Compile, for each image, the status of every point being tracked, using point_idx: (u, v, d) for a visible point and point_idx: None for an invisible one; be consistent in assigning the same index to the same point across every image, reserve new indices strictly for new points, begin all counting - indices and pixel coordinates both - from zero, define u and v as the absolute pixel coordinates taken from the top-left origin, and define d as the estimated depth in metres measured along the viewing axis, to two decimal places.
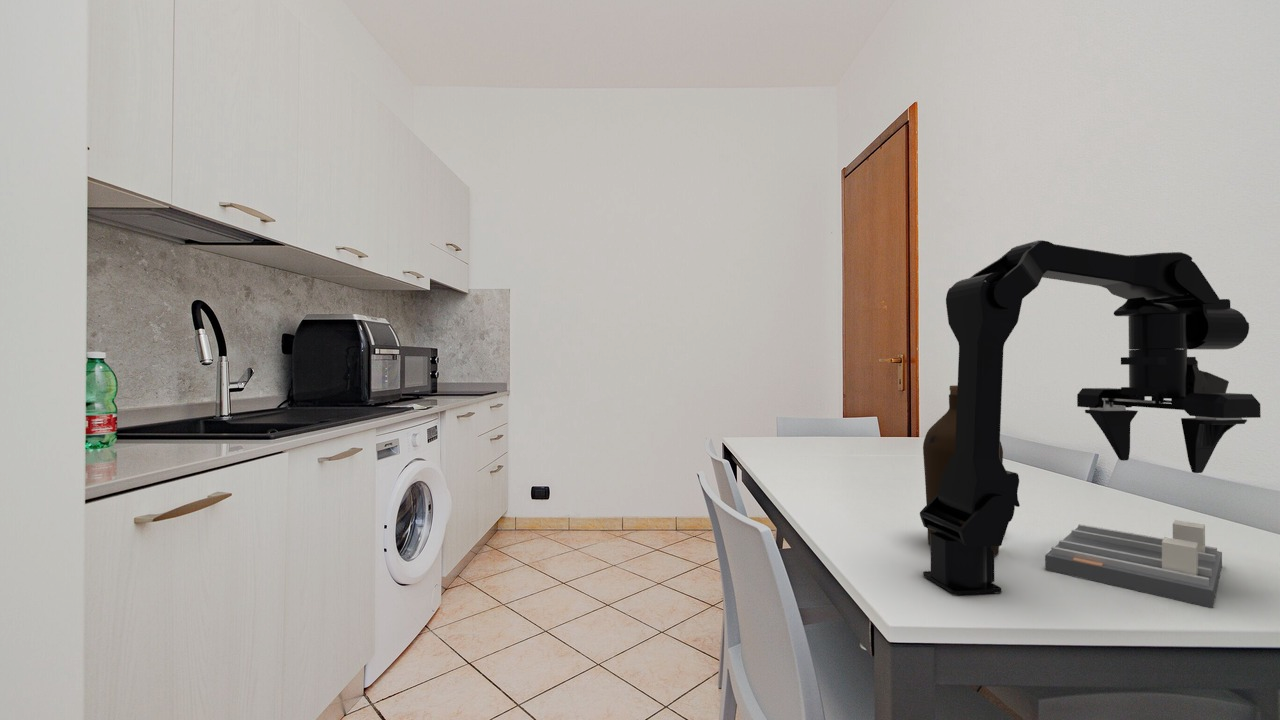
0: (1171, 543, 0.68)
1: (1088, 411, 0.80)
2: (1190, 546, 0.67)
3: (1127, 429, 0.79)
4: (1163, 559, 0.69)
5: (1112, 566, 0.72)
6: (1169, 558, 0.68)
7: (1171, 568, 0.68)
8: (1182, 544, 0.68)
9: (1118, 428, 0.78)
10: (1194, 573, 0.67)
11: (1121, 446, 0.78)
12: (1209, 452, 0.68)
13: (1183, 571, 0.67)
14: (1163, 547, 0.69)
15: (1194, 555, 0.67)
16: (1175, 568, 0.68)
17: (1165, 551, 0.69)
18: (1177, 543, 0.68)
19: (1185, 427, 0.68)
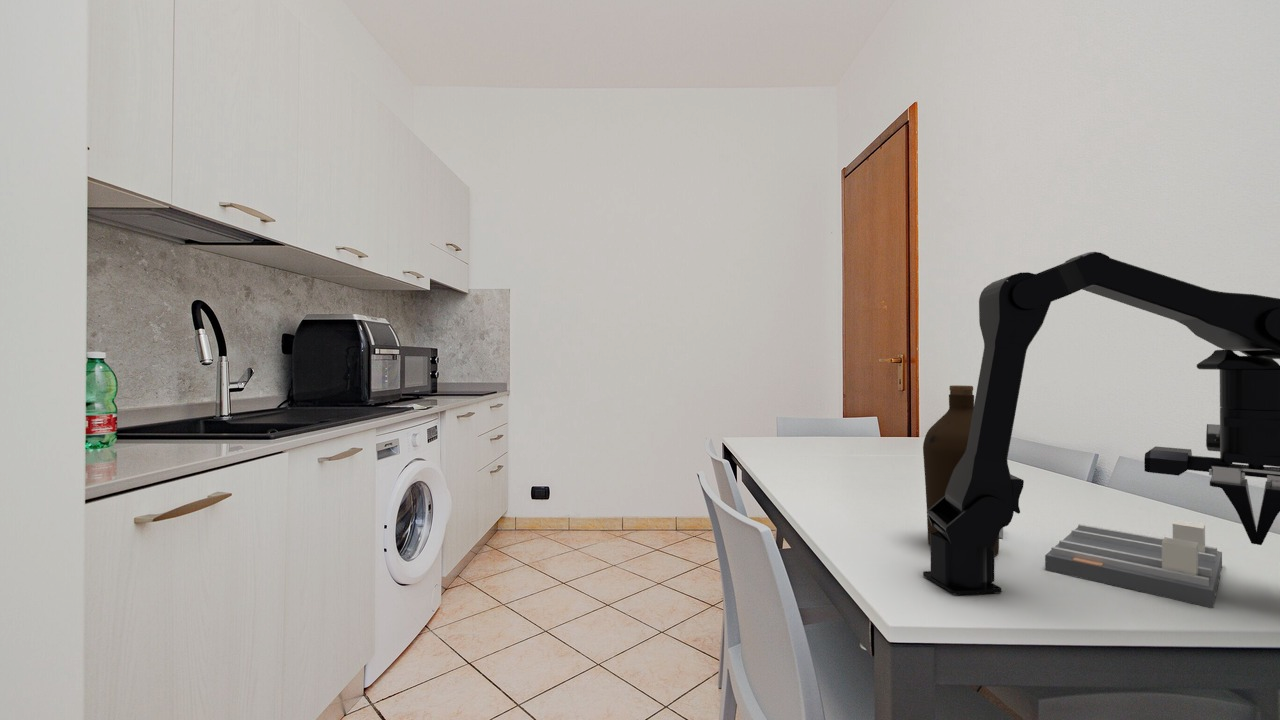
0: (1171, 543, 0.68)
1: (1220, 485, 0.64)
2: (1190, 546, 0.67)
3: (1251, 504, 0.65)
4: (1163, 559, 0.69)
5: (1112, 566, 0.72)
6: (1169, 558, 0.68)
7: (1171, 568, 0.68)
8: (1182, 544, 0.68)
9: (1250, 505, 0.64)
10: (1194, 573, 0.67)
11: (1255, 527, 0.64)
12: None
13: (1183, 571, 0.67)
14: (1163, 547, 0.69)
15: (1194, 555, 0.67)
16: (1175, 568, 0.68)
17: (1165, 551, 0.69)
18: (1177, 543, 0.68)
19: (1269, 498, 0.61)
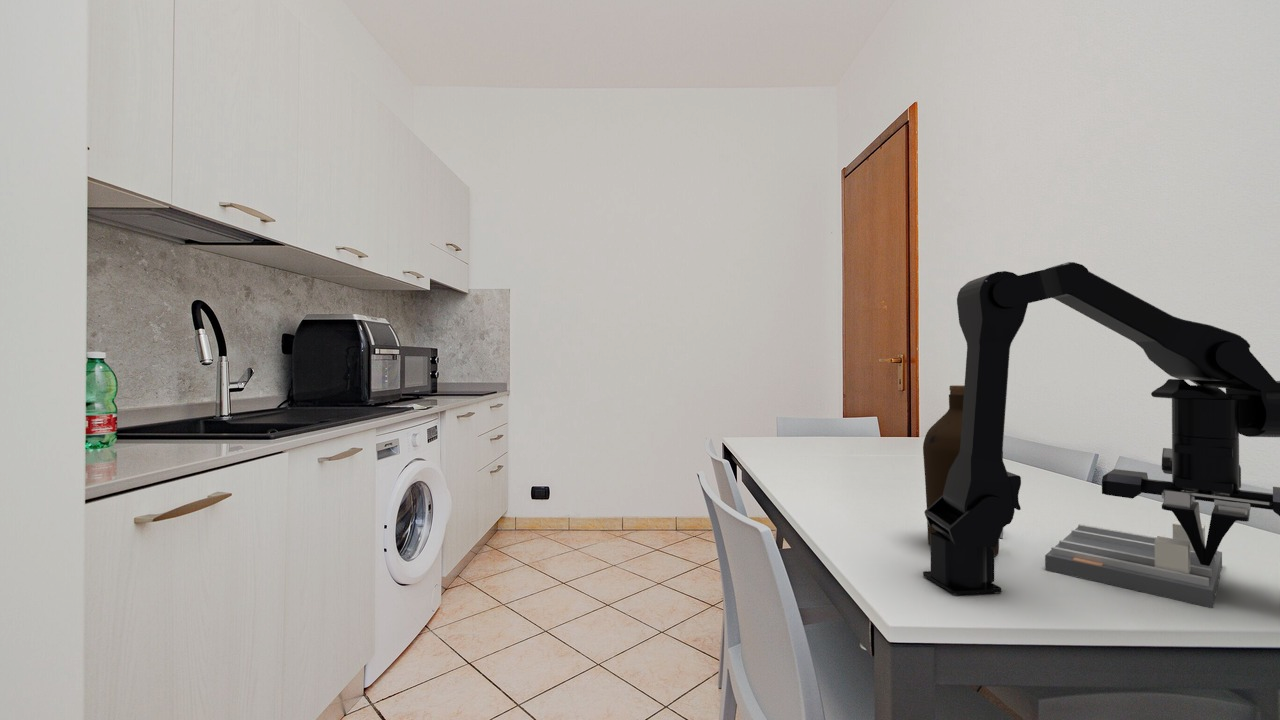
0: (1164, 542, 0.69)
1: (1171, 508, 0.67)
2: (1182, 545, 0.68)
3: (1201, 526, 0.68)
4: (1156, 558, 0.69)
5: (1112, 566, 0.72)
6: (1162, 557, 0.69)
7: (1164, 567, 0.69)
8: (1175, 543, 0.69)
9: (1200, 527, 0.67)
10: (1186, 571, 0.67)
11: (1204, 549, 0.67)
12: None
13: (1175, 569, 0.68)
14: (1156, 546, 0.69)
15: (1186, 554, 0.67)
16: (1168, 567, 0.68)
17: (1158, 550, 0.69)
18: (1170, 542, 0.69)
19: (1215, 522, 0.65)
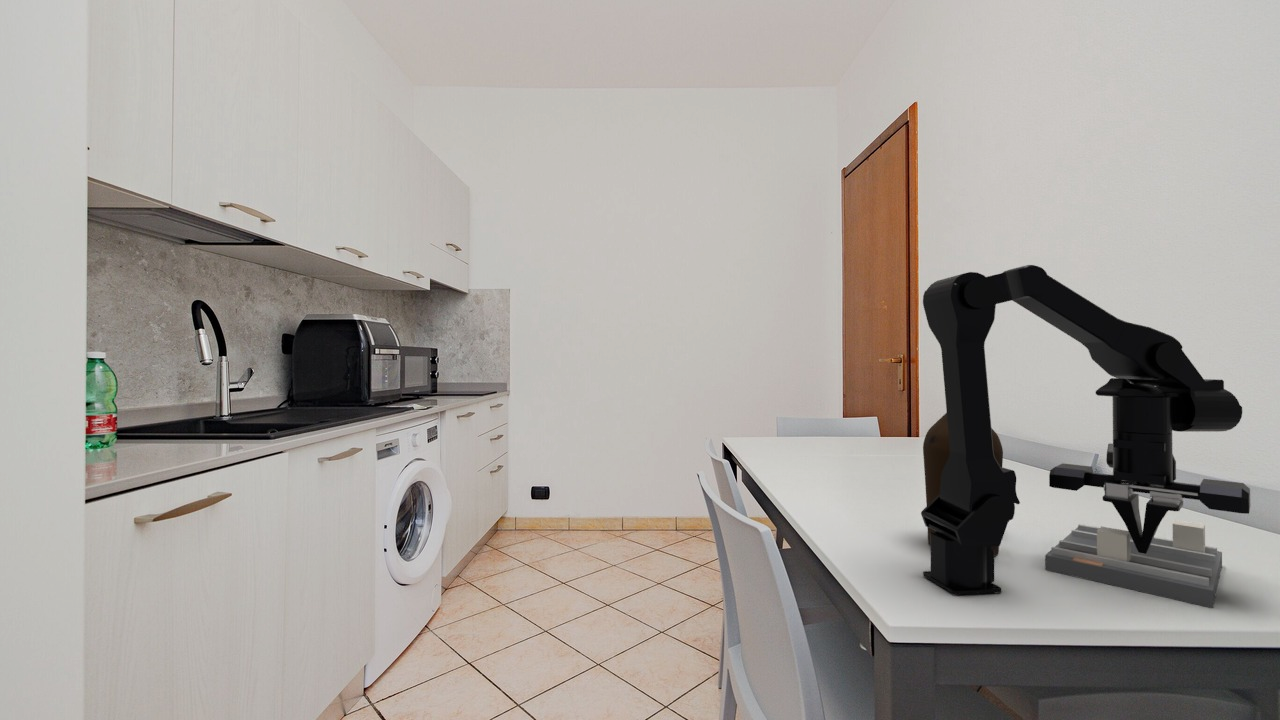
0: (1105, 531, 0.73)
1: (1110, 499, 0.71)
2: (1122, 534, 0.72)
3: (1139, 517, 0.72)
4: (1098, 546, 0.73)
5: (1112, 566, 0.72)
6: (1103, 546, 0.73)
7: (1105, 555, 0.73)
8: (1115, 532, 0.73)
9: (1137, 517, 0.71)
10: (1125, 559, 0.71)
11: (1141, 537, 0.71)
12: (1155, 532, 0.71)
13: (1115, 557, 0.72)
14: (1098, 535, 0.74)
15: (1125, 542, 0.71)
16: (1108, 555, 0.73)
17: (1100, 539, 0.73)
18: (1111, 531, 0.73)
19: (1149, 512, 0.69)
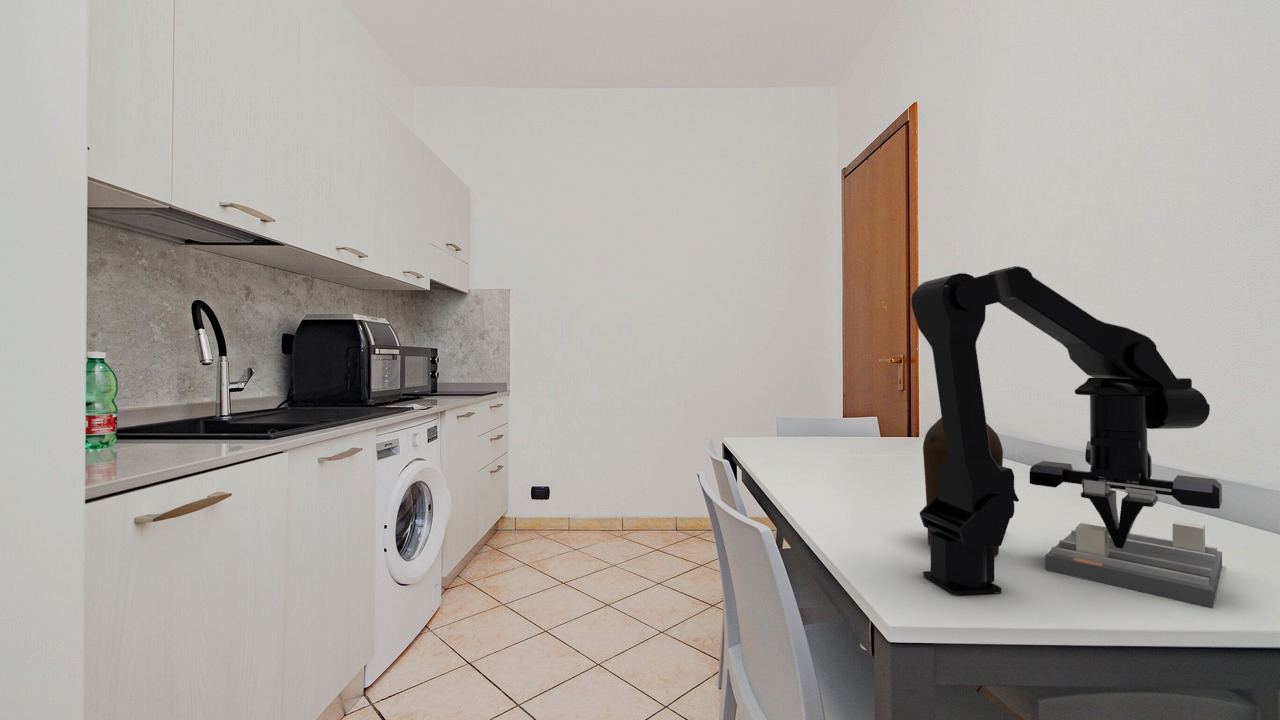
0: (1084, 528, 0.75)
1: (1088, 496, 0.73)
2: (1100, 530, 0.74)
3: (1116, 513, 0.74)
4: (1077, 542, 0.75)
5: (1112, 566, 0.72)
6: (1082, 542, 0.75)
7: (1084, 551, 0.75)
8: (1094, 529, 0.74)
9: (1114, 513, 0.73)
10: (1103, 555, 0.73)
11: None
12: None
13: (1094, 553, 0.74)
14: (1077, 532, 0.75)
15: (1103, 538, 0.73)
16: (1087, 551, 0.74)
17: (1079, 535, 0.75)
18: (1089, 528, 0.75)
19: (1125, 508, 0.71)
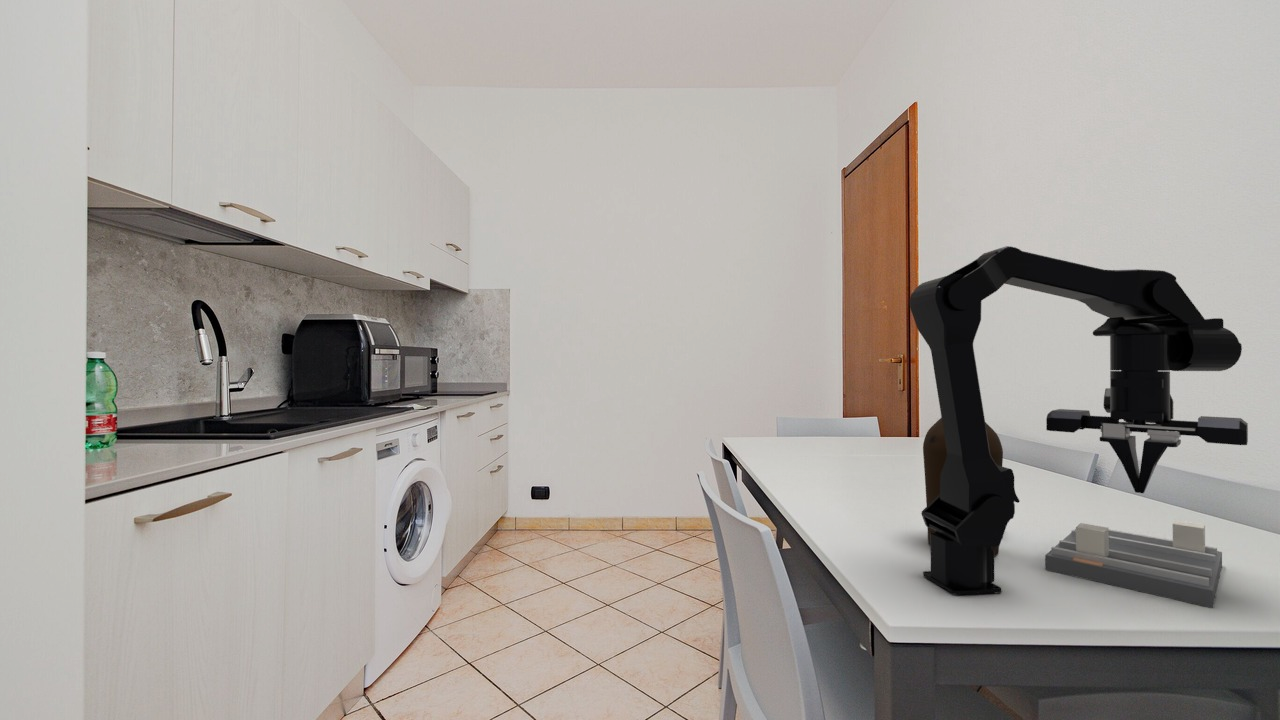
0: (1084, 528, 0.75)
1: (1107, 439, 0.71)
2: (1100, 530, 0.74)
3: (1136, 457, 0.72)
4: (1077, 542, 0.75)
5: (1112, 566, 0.72)
6: (1082, 542, 0.75)
7: (1084, 551, 0.75)
8: (1093, 529, 0.74)
9: (1134, 457, 0.71)
10: (1103, 555, 0.73)
11: (1138, 477, 0.71)
12: (1152, 472, 0.70)
13: (1094, 553, 0.74)
14: (1077, 531, 0.75)
15: (1103, 538, 0.73)
16: (1087, 550, 0.74)
17: (1079, 535, 0.75)
18: (1089, 528, 0.75)
19: (1147, 450, 0.68)
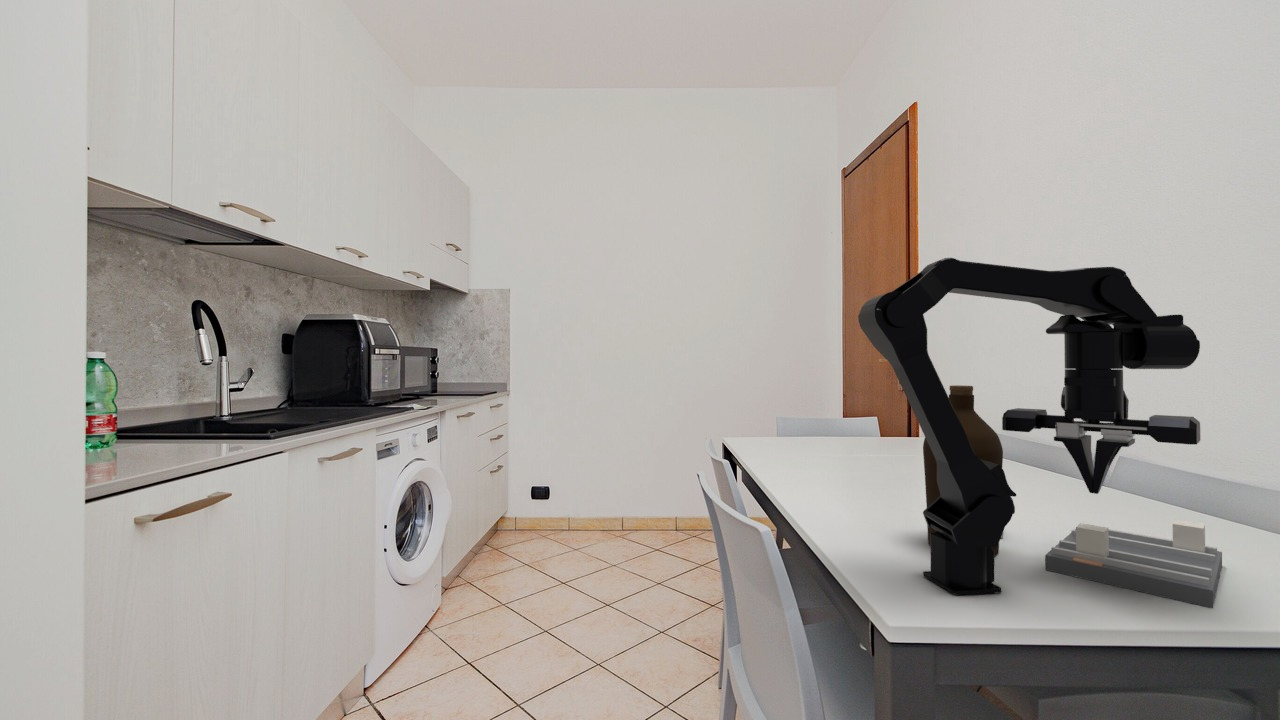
0: (1084, 528, 0.75)
1: (1061, 439, 0.70)
2: (1100, 530, 0.74)
3: (1091, 457, 0.70)
4: (1077, 542, 0.75)
5: (1112, 566, 0.72)
6: (1082, 542, 0.75)
7: (1084, 551, 0.75)
8: (1093, 529, 0.74)
9: (1088, 457, 0.70)
10: (1103, 555, 0.73)
11: (1092, 477, 0.69)
12: None
13: (1094, 553, 0.74)
14: (1077, 531, 0.75)
15: (1103, 538, 0.73)
16: (1087, 550, 0.74)
17: (1079, 535, 0.75)
18: (1089, 528, 0.75)
19: (1100, 449, 0.67)
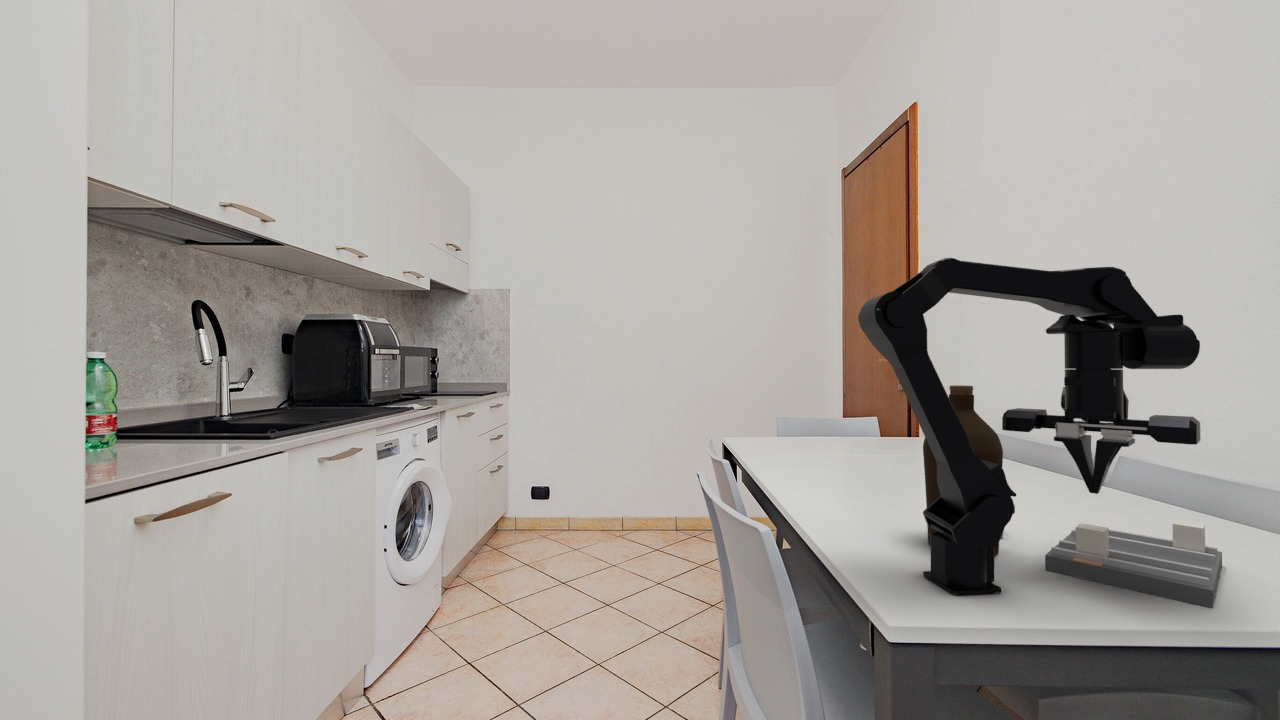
0: (1084, 528, 0.75)
1: (1061, 439, 0.70)
2: (1100, 530, 0.74)
3: (1091, 457, 0.70)
4: (1077, 542, 0.75)
5: (1112, 566, 0.72)
6: (1082, 542, 0.75)
7: (1084, 551, 0.75)
8: (1093, 529, 0.74)
9: (1088, 457, 0.70)
10: (1103, 555, 0.73)
11: (1092, 477, 0.69)
12: None
13: (1094, 553, 0.74)
14: (1077, 531, 0.75)
15: (1103, 538, 0.73)
16: (1087, 550, 0.74)
17: (1079, 535, 0.75)
18: (1089, 528, 0.75)
19: (1100, 449, 0.67)
